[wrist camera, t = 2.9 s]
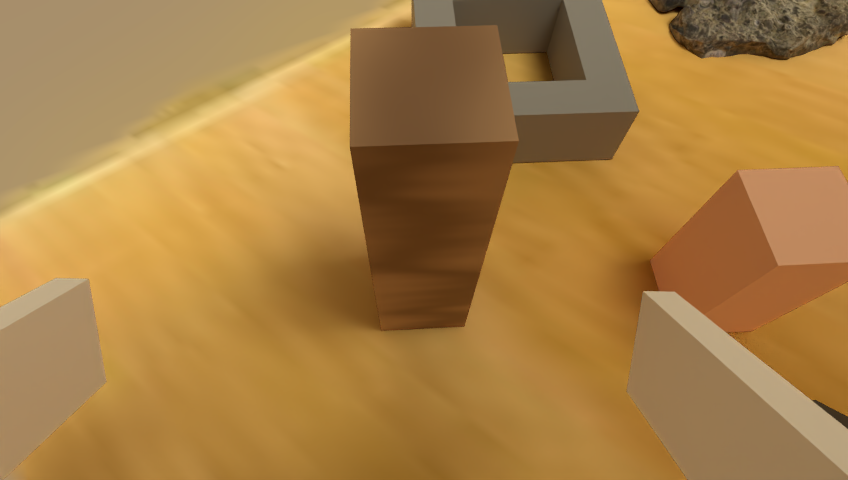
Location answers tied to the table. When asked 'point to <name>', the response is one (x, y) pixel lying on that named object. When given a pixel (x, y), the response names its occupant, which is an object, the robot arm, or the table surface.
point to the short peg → (760, 246)
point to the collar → (554, 73)
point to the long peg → (429, 164)
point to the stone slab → (756, 26)
